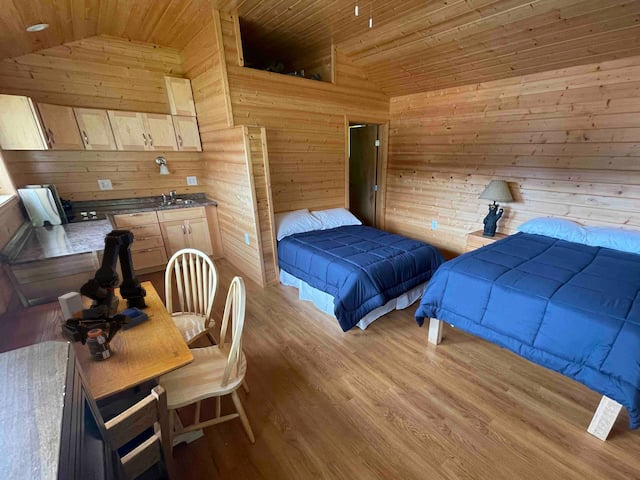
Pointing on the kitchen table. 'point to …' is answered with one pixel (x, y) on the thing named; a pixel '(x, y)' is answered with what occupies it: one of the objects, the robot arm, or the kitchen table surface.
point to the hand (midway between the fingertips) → (96, 343)
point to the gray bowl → (113, 304)
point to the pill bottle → (98, 345)
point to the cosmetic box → (71, 305)
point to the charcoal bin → (74, 333)
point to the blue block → (130, 313)
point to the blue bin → (135, 321)
